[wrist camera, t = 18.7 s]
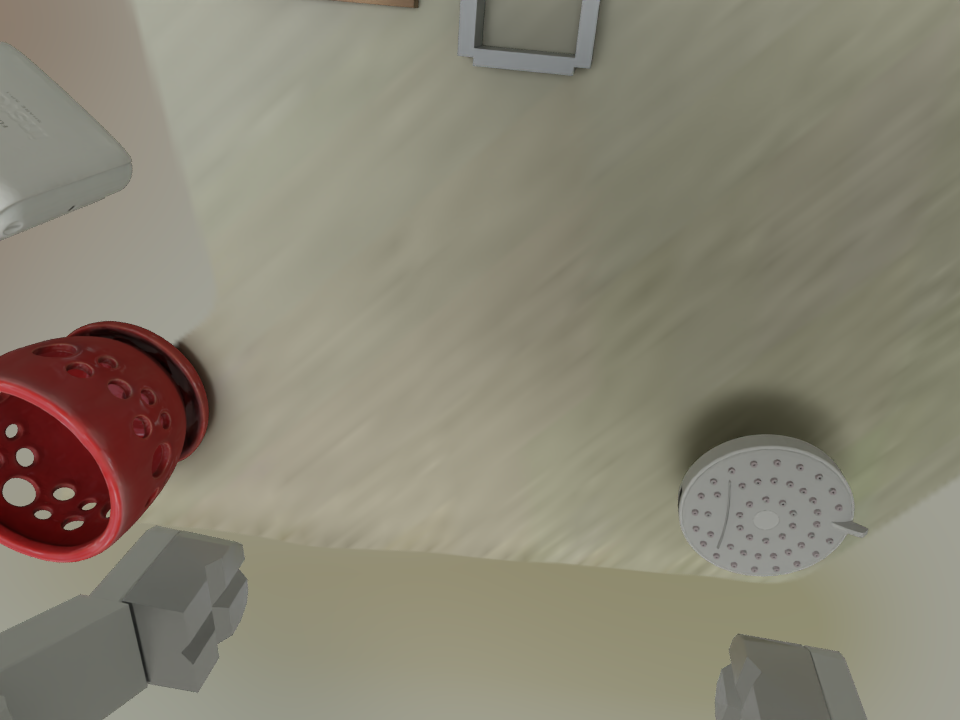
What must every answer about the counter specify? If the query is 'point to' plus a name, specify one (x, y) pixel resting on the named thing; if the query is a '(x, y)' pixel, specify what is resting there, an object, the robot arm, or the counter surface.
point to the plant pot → (94, 434)
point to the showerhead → (765, 505)
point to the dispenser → (520, 58)
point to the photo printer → (49, 149)
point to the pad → (388, 2)
